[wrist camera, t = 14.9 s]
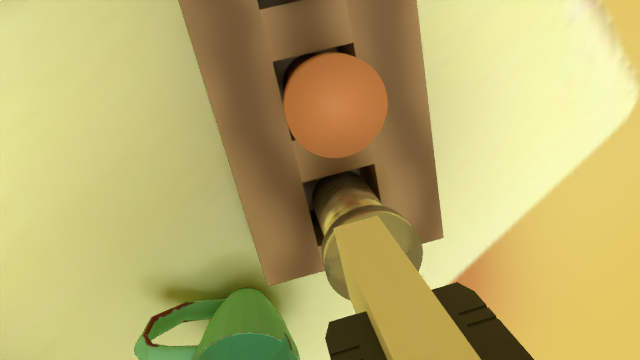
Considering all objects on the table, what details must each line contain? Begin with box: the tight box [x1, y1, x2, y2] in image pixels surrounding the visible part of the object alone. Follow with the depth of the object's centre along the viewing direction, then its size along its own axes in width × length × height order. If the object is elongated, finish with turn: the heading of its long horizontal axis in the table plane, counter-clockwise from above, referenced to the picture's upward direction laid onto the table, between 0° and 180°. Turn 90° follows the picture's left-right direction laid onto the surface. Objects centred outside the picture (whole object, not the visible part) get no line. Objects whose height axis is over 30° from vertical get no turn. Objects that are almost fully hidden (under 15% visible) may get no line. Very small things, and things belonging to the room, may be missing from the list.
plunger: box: [312, 171, 423, 300], centre depth 32 cm, size 6×6×11 cm
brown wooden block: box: [178, 0, 443, 286], centre depth 35 cm, size 16×30×8 cm, turn 12°
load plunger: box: [283, 52, 388, 158], centre depth 31 cm, size 6×6×11 cm
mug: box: [134, 288, 300, 360], centre depth 41 cm, size 15×10×10 cm
